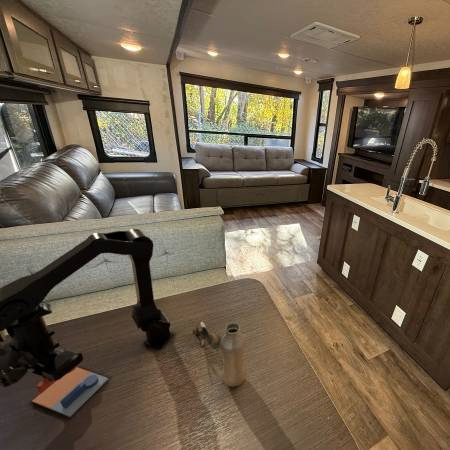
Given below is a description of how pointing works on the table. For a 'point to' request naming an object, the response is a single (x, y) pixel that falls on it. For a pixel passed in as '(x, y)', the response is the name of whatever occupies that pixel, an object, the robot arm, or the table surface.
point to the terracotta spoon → (47, 383)
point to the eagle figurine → (206, 335)
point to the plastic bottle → (233, 355)
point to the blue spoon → (79, 390)
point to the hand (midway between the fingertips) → (51, 378)
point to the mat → (64, 387)
